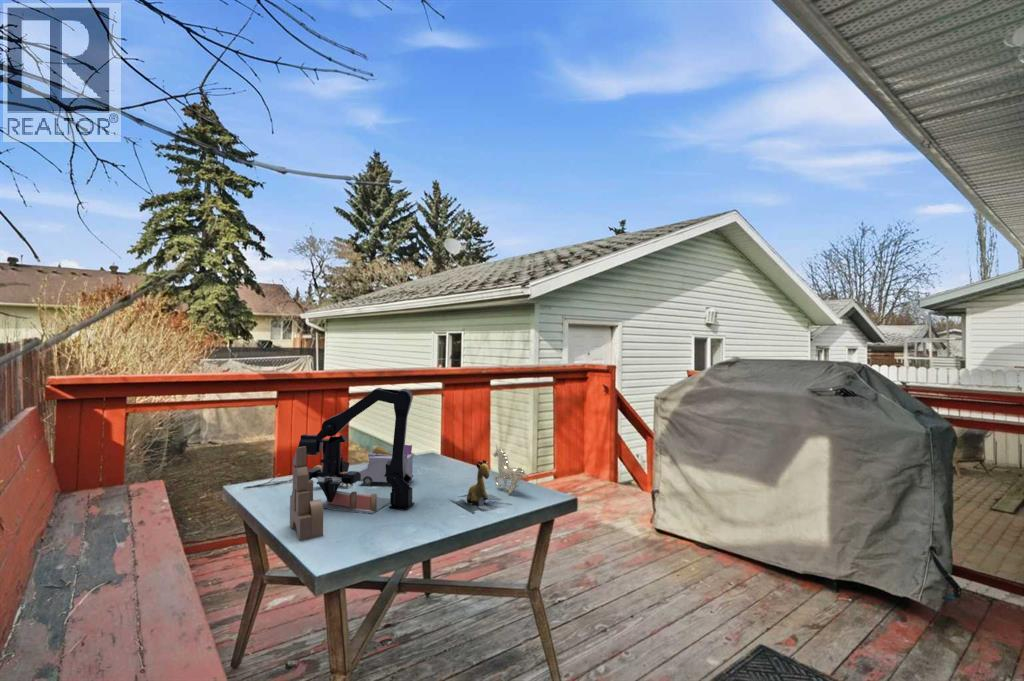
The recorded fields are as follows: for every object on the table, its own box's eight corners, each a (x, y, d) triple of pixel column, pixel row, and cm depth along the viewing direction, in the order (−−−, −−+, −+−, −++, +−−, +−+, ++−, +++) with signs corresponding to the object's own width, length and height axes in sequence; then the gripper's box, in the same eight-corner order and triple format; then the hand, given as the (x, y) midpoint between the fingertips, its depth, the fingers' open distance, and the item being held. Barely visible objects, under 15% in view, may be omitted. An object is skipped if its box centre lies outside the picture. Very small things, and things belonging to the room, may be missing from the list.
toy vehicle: (365, 479, 198) (366, 442, 198) (413, 481, 198) (414, 443, 198) (357, 486, 189) (358, 447, 189) (408, 488, 188) (408, 448, 188)
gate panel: (352, 505, 165) (352, 493, 165) (349, 507, 164) (349, 494, 164) (329, 501, 169) (329, 489, 169) (326, 502, 168) (326, 490, 168)
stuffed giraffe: (472, 514, 161) (474, 465, 162) (446, 501, 176) (448, 456, 177) (512, 507, 171) (513, 460, 171) (484, 495, 185) (486, 452, 186)
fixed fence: (377, 510, 163) (377, 493, 163) (374, 512, 161) (374, 495, 161) (352, 507, 165) (353, 491, 165) (349, 509, 164) (350, 492, 164)
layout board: (395, 499, 174) (395, 498, 174) (372, 514, 160) (372, 513, 160) (342, 494, 180) (342, 493, 180) (316, 507, 165) (316, 506, 165)
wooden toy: (324, 536, 142) (325, 449, 142) (299, 541, 138) (300, 452, 138) (311, 519, 155) (312, 440, 154) (288, 523, 151) (289, 442, 151)
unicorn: (529, 499, 177) (530, 451, 177) (521, 501, 175) (521, 452, 175) (497, 485, 193) (498, 441, 193) (489, 487, 191) (489, 443, 191)
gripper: (368, 451, 172) (367, 496, 172) (319, 449, 175) (318, 493, 175) (353, 458, 161) (352, 506, 161) (300, 455, 164) (299, 502, 164)
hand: (330, 501), depth 165 cm, fingers closed
